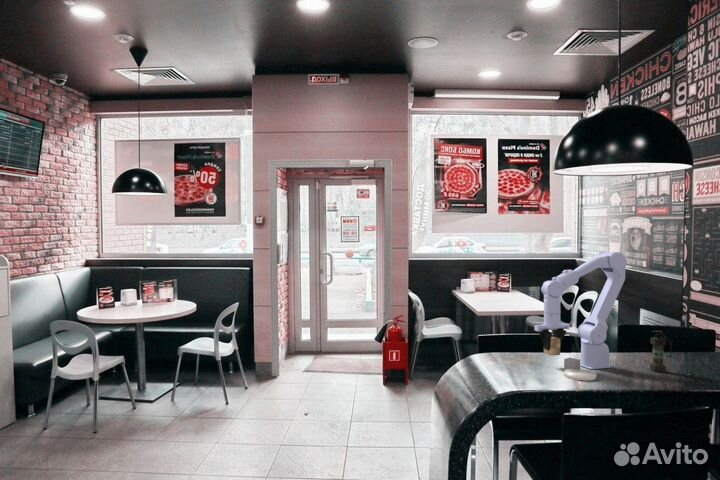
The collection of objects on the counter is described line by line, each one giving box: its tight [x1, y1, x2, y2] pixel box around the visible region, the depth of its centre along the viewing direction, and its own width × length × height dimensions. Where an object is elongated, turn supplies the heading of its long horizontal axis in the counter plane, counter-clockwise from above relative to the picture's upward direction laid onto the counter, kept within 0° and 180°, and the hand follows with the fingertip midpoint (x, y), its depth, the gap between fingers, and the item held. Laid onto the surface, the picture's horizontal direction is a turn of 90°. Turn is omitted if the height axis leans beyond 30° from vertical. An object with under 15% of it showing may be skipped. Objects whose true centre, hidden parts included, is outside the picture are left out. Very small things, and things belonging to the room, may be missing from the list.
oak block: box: [543, 336, 561, 357], centre depth 178 cm, size 4×4×6 cm
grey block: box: [563, 357, 581, 371], centre depth 174 cm, size 4×4×4 cm
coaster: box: [563, 368, 597, 382], centre depth 165 cm, size 10×10×2 cm
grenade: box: [649, 329, 672, 373], centre depth 173 cm, size 6×6×15 cm
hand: (552, 349), depth 178 cm, fingers closed on oak block, 4 cm apart
